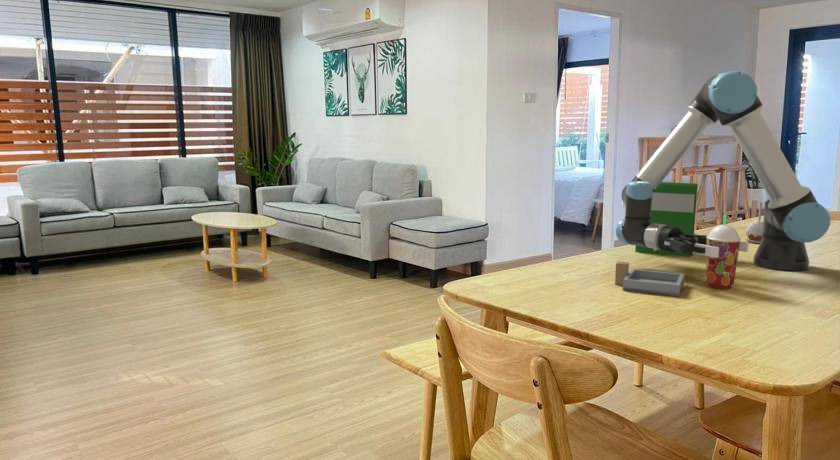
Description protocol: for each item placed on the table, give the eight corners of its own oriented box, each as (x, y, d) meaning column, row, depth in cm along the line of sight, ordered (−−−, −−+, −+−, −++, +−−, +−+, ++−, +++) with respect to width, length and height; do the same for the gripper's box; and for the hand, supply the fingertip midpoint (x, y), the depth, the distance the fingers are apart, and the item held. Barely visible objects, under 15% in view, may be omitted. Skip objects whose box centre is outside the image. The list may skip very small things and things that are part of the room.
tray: (683, 284, 178) (685, 263, 177) (678, 296, 165) (680, 274, 164) (620, 277, 185) (621, 257, 184) (611, 289, 173) (612, 267, 172)
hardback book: (692, 253, 220) (697, 183, 216) (690, 257, 213) (695, 185, 209) (639, 248, 228) (643, 181, 224) (635, 252, 222) (639, 183, 218)
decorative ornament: (765, 240, 242) (769, 201, 240) (771, 244, 235) (775, 204, 232) (743, 240, 244) (746, 201, 242) (748, 243, 237) (752, 203, 234)
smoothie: (734, 285, 177) (740, 213, 174) (738, 292, 169) (744, 217, 166) (701, 282, 180) (706, 212, 176) (704, 289, 172) (709, 216, 169)
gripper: (689, 245, 195) (757, 258, 177) (635, 255, 182) (703, 269, 164) (691, 221, 194) (760, 231, 176) (637, 229, 180) (705, 240, 163)
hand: (733, 249), depth 170 cm, fingers open, 13 cm apart
